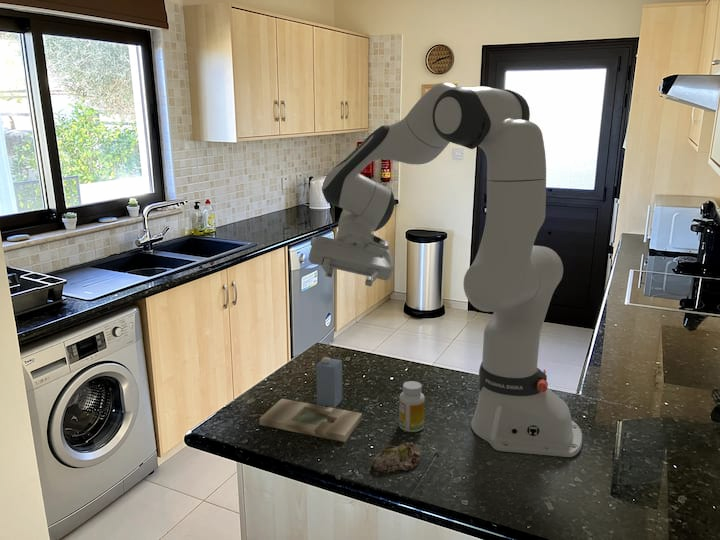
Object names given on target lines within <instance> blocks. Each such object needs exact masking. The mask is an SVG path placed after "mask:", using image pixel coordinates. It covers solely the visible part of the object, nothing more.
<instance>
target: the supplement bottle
mask: <svg viewBox="0 0 720 540" xmlns="http://www.w3.org/2000/svg"><path fill="white" fill-rule="evenodd" d="M422 387H423V386H422V384H421V382H418V381H416V380H415V381H414V380H413V381H412V380H411V381H410V380H408V381H405V382H403V385H402V392H401V393H400V394H399V399H398V400H399V403H398V404H399V407H398V409H399V411H398V412H399V413H398V426H399V428H400V429H401V430H403V431H404V432H408V433H417V432H420V431H421V430H423V429H424V428H425V408H426V407H425V404H426V403H425V401H426V400H425V399H426V397H425V395H424V393H422V390H423V388H422Z"/></svg>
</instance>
